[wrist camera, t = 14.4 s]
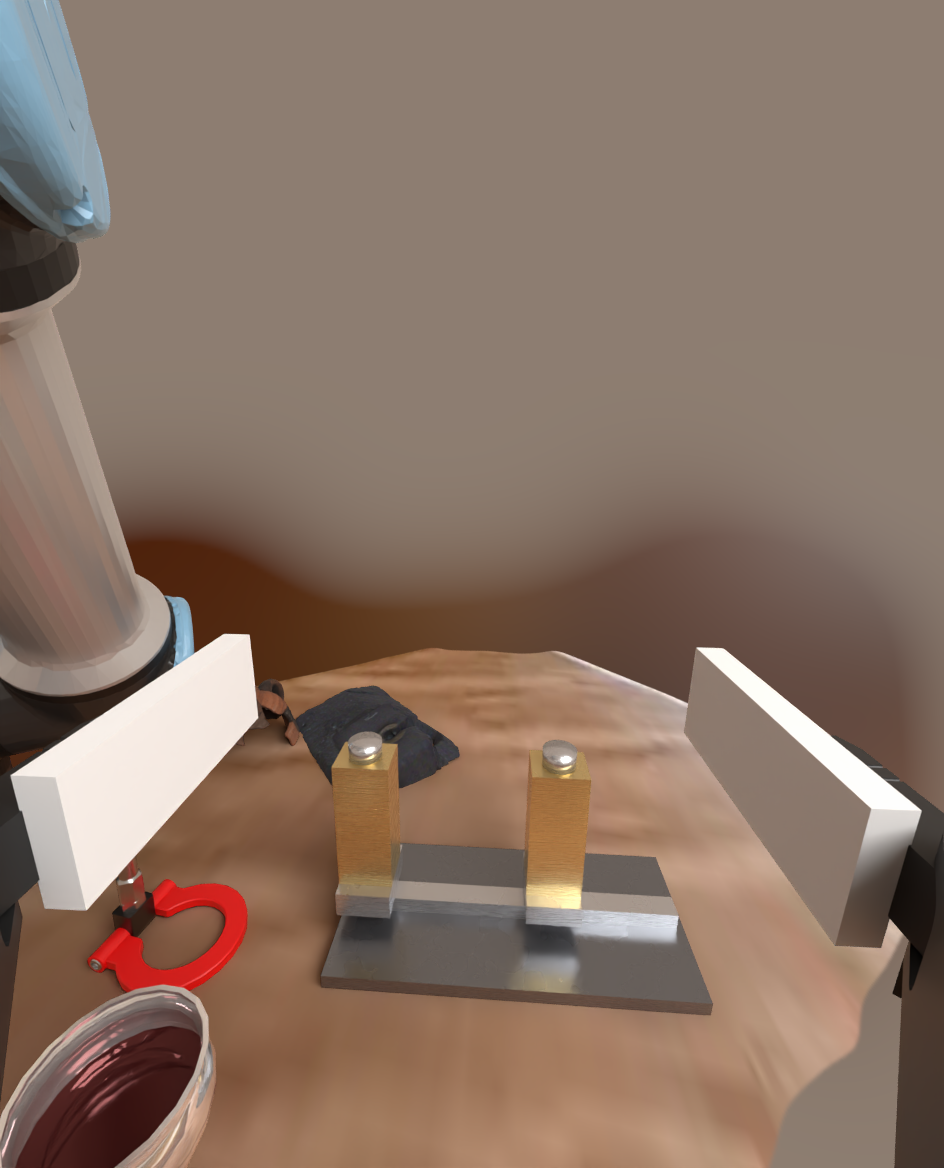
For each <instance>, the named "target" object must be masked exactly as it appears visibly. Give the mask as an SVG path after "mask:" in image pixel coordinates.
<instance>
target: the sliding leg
mask: <svg viewBox="0 0 944 1168" xmlns="http://www.w3.org/2000/svg"><path fill="white" fill-rule="evenodd" d="M590 790H591V777H590V774H589V770H588V767H587V763H586V760H585V756H584V752H577V749H576V747H575V746H574V745H572V744H571V743H569V742H566V741H562V740H551V741H548V742H546V743H545V744H544V745H543V751H539V750H530V751H529V771H528V792H527V812H526V832H525V852H524V854H523V880H524V898H525V916H526V924H537V925H552V926H568V927H582V916H583V906H582V901H581V893H582V882H583V870H584V859H585V847H586V836H587V824H588V813H589V801H590Z"/></svg>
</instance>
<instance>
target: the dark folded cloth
mask: <svg viewBox="0 0 944 1168" xmlns="http://www.w3.org/2000/svg"><path fill="white" fill-rule="evenodd" d="M295 721H296V723H297V726H298V727H299V731H300V732H301V733H302V734H303V738H304V740H305V742H306V743H307V746H308V748H309V750H310V752H311V753H312V756H313V757H314V758H315V759H316V760H317V763H318V764H319V766H320V768H321V769H322V771H323V772H324V774H325V776H326V777H327V778H328V780H329V782H330V784H331V785H332V787H333V784H332V769H331V767H332V765H333V764H334V762H335V760H336V758H337V756H338V755H339V753H340V751H341V749H342V747H343V746H344V744H345V742H348V741H349V739H350V738H351V737H352V736H353V735H355V734H358V733H361V732H375V733H377V734H379V735H380V736H381V737H382V743H384V744H397V747H398V783H399V788H403V787H405V786H408V785H410V784H413V783H415V782H417V781H419V780H422V779H424V778H426V777H429V776H431V775H433V774H434V773H435V772H436V770H439V769H441V767H443V766H444V765H447V764H448V761H451V760H453V759H455V758H457V757H459V750H458V747H457V746H455V745H454V743H453V742H452V741H451V740H449V739H448V738H446V737H445V736H444V735H443V734H441V733H439V732H438V731H436V730H435V729H433V728H432V727H430V726H428V725H427V724H425V723H424V722H421V721H420V720H418V718H417V715H415V714H414V713H412V711H410V710H409V709H408V708H406V707H404V706H403V705H401V704H400V702H398V701H396V700H394V699H393V698H392V697H390V696H389V695H388V694H387V693H386V692H385V691H384V690H382V689H380V688H379V687H377V686H368V687H361V688H351V689H347V690H345V691H342V692H341V693H339V694H337V695H335V696H333V697H332V698H329V699H328V700H326V701H325V702H324V703H322V704H320V705H318V706H316V707H314V708H311V709H309V710H307V711H306V712H305V713H304V714H301V715H300V716H299V717H298V718H297V719H296V720H295ZM433 744H434V746H433Z"/></svg>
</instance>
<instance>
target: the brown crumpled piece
mask: <svg viewBox="0 0 944 1168" xmlns="http://www.w3.org/2000/svg"><path fill="white" fill-rule="evenodd" d="M255 692H256V701H257V711H258V719H257V720H256V721H255V722H254V723H253V724H252V725H251V727H250V728H249V729H263V728H266V727H267V726H269V724H270V723H269V722H268V721H267V720H266V719H277V718H279V717H280V716H281V715H282V717H283V719H284V722H285V725H286V726H288V728H287V730H286V732H285V737H286V738H288V739H289V742H290V744H291V745H292V746H294V745H295V743H296V742H297V740H298V737H299V732H300V731H299V727H298V726H297V723H296V721H295V719H294V718H293V716H292V714H291V711H290V710H289V707H288V706H287V705H286V702H285V701H284V691H283V687H282V685H281V684H280V683H279V682H278V681H277V680H274V679H268V680H266V681H264V682H262V683H261V684H260V685H259V687H256V686H255ZM265 718H266V719H265ZM243 737H244V734H243V736H242V737H241V738H240V739H239V740H238V741H237V742H236V743H235V744H237V745H241V746H244V745H245V743H244V738H243Z"/></svg>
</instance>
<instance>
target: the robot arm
mask: <svg viewBox="0 0 944 1168" xmlns="http://www.w3.org/2000/svg"><path fill="white" fill-rule="evenodd" d="M109 225H110V205H109V198H108V189H107V183H106V178H105V173H104V168H103V163H102V158H101V154H100V151H99V148H98V145H97V142H96V137H95V133H94V130H93V126H92V123H91V119H90V116H89V113H88V103H87V97H86V94H85V90H84V86H83V82H82V78H81V75H80V71H79V68H78V64H77V61H76V57H75V54H74V50H73V47H72V44H71V40H70V37H69V33H68V30H67V27H66V23H65V20H64V17H63V13H62V10H61V7H60V4H59V1H58V0H0V1100H1V1092H2V1084H3V1075H4V1067H5V1058H6V1050H7V1042H8V1033H9V1025H10V1016H11V1008H12V1000H13V991H14V983H15V974H16V966H17V958H18V949H19V941H20V932H21V924H22V913H21V910H20V906H19V903H18V899H20V898H21V897H22V896H23V895H24V894H25V893H26V892H27V891H28V890H29V889H30V888H31V887H32V886H33V885H34V884H36V883H37V882H38V884H39V888H40V892H41V895H42V899H43V903H44V907H45V909H65V910H87V909H88V908H89V907H90V906H91V905H92V904H93V903H94V901H95V900H96V899H97V898H98V897H99V896H100V895H101V894H102V892H103V891H104V890H105V889H106V888H107V887H108V886H109V885H110V883H111V882H112V881H113V880H114V879H115V878H116V877H117V876H118V875H119V873H120V872H121V871H122V870H123V869H124V868H125V867H126V866H127V864H128V863H129V862H130V861H131V860H132V859H133V858H134V857H135V855H136V854H137V853H138V852H139V851H140V850H141V849H142V848H143V846H144V845H145V844H146V843H147V842H148V841H149V840H150V839H151V838H152V836H153V835H154V834H155V833H156V832H157V831H158V830H159V829H160V827H161V826H162V825H163V824H164V823H165V822H166V821H167V820H168V818H169V817H170V816H171V815H172V814H173V813H174V812H175V811H176V810H177V808H178V807H179V806H180V805H181V804H182V803H183V802H184V801H185V799H186V798H187V797H188V796H189V795H190V794H191V793H192V792H193V790H194V789H195V788H196V787H197V786H198V785H199V784H200V783H201V781H202V780H203V779H204V778H205V777H206V776H207V775H208V774H209V773H210V771H211V770H212V769H213V768H214V767H215V766H216V765H217V764H218V762H219V761H220V760H221V759H222V758H223V757H224V756H225V755H226V753H227V752H228V751H229V750H230V749H231V748H232V747H233V746H234V744H235V743H236V742H237V741H238V740H239V739H240V738H241V737H242V736H243V734H244V733H245V732H246V731H247V730H248V729H249V728H250V727H251V725H252V724H253V723H254V722H255V721H256V720H257V719H258V711H257V701H256V692H255V682H254V673H253V664H252V655H251V645H250V636H249V635H240V634H224V635H222V636H221V637H219V638H217V639H216V640H214V641H213V642H211V643H210V644H208V645H207V646H205V647H204V648H202V649H201V650H199V651H198V652H196V653H195V654H194V643H193V629H192V619H191V612H190V607H189V605H188V603H187V601H186V600H185V599H183V598H180V597H171V596H163V594H162V593H161V592H160V591H159V589H158V588H156V587H155V586H154V585H153V584H152V583H150V582H149V581H148V580H146V579H145V578H143V577H141V576H139V575H137V574H135V571H134V568H133V565H132V562H131V558H130V555H129V552H128V549H127V546H126V543H125V539H124V537H123V533H122V530H121V527H120V524H119V521H118V517H117V515H116V511H115V508H114V505H113V502H112V499H111V495H110V493H109V489H108V486H107V483H106V480H105V477H104V473H103V470H102V467H101V464H100V461H99V458H98V455H97V451H96V449H95V445H94V442H93V439H92V436H91V433H90V429H89V426H88V423H87V420H86V417H85V414H84V411H83V408H82V405H81V401H80V398H79V395H78V392H77V389H76V385H75V382H74V379H73V376H72V373H71V370H70V367H69V363H68V360H67V357H66V354H65V351H64V348H63V345H62V341H61V338H60V336H59V333H58V329H57V326H56V323H55V320H54V317H53V313H52V310H51V308H52V307H53V306H55V305H56V304H57V303H58V302H59V301H60V300H62V299H63V298H64V297H65V296H66V295H68V294H69V293H70V292H71V291H72V290H73V288H74V287H75V286H76V284H77V283H78V280H79V277H80V274H81V262H80V258H79V254H78V250H77V246H76V243H79V242H84V241H86V240H87V239H88V238H93V239H94V238H98V237H101V236H103V235H104V234H106V233H107V231H108V228H109ZM684 733H685V734H686V736H687V737H688V739H689V740H690V742H691V743H692V744H693V746H694V747H695V749H696V750H697V751H698V753H699V754H700V756H701V757H702V758H703V760H704V761H705V763H706V764H707V766H708V767H709V768H710V770H711V771H712V773H713V774H714V775H715V777H716V778H717V780H718V781H719V783H720V784H721V785H722V787H723V788H724V790H725V791H726V792H727V794H728V795H729V797H730V798H731V799H732V801H733V802H734V804H735V805H736V807H737V808H738V809H739V811H740V812H741V814H742V815H743V816H744V818H745V819H746V821H747V822H748V824H749V825H750V826H751V828H752V829H753V831H754V832H755V833H756V835H757V836H758V838H759V839H760V840H761V842H762V843H763V845H764V846H765V848H766V849H767V850H768V852H769V853H770V855H771V856H772V857H773V859H774V860H775V862H776V863H777V865H778V866H779V867H780V869H781V870H782V872H783V873H784V874H785V876H786V877H787V879H788V880H789V881H790V883H791V884H792V886H793V887H794V889H795V890H796V891H797V893H798V894H799V896H800V897H801V898H802V900H803V901H804V903H805V904H806V905H807V907H808V908H809V910H810V911H811V913H812V914H813V915H814V917H815V918H816V920H817V921H818V922H819V924H820V925H821V927H822V928H823V930H824V931H825V932H826V934H827V935H828V937H829V938H830V939H831V941H832V942H833V944H834V945H835V946H850V947H872V948H881V946H882V943H883V939H884V936H885V933H886V929H887V926H888V922H889V919H891V920H892V921H893V923H894V924H895V925H896V926H897V927H898V928H899V930H900V931H901V932H902V933H903V934H904V935H905V936H906V938H907V939H908V940H909V942H908V945H907V949H906V952H905V955H904V958H903V961H902V965H901V968H900V971H899V974H898V977H897V980H896V984H895V987H894V990H893V994H894V995H896V996H898V997H900V998H902V1004H901V1005H902V1006H901V1028H900V1030H901V1031H900V1051H899V1074H898V1097H897V1098H898V1099H897V1122H896V1144H895V1167H894V1168H944V813H943V812H941V811H940V810H938V808H936V807H935V806H934V805H932V804H931V803H930V802H929V801H927V800H926V799H925V798H924V797H922V796H921V795H920V794H918V793H917V792H916V791H915V790H913V789H912V788H911V787H909V786H908V785H907V784H906V783H904V782H900V781H899V778H898V777H897V776H895V775H894V774H893V773H892V772H890V771H889V770H888V769H886V768H882V765H881V764H880V763H879V762H878V761H876V760H875V759H874V758H872V757H871V756H870V755H869V754H867V753H866V752H865V751H863V750H862V749H860V748H858V747H856V746H855V745H853V744H851V743H849V742H847V741H845V740H843V739H841V738H839V737H837V736H830V735H828V734H827V733H826V732H825V731H824V730H822V729H821V728H820V727H819V726H817V725H816V724H815V723H814V722H812V721H811V720H810V719H809V718H808V717H806V716H805V715H804V714H803V713H801V712H800V711H799V710H798V709H797V708H795V707H794V706H793V705H792V704H791V703H789V702H788V701H787V700H786V699H784V698H783V697H782V696H781V695H779V694H778V693H777V692H776V691H775V690H773V689H772V688H771V687H770V686H768V685H767V684H766V683H765V682H764V681H762V680H761V679H760V678H759V677H757V676H756V675H755V674H754V673H753V672H751V671H750V670H749V669H748V668H746V667H745V666H744V665H743V664H741V663H740V662H739V661H738V660H737V659H735V658H734V657H733V656H732V655H730V654H729V653H728V652H727V651H726V650H724V649H723V648H696V653H695V660H694V667H693V674H692V681H691V688H690V694H689V702H688V708H687V715H686V722H685V729H684ZM39 749H43V751H42V752H37V753H36V754H34V755H33V756H31V757H29V758H28V759H26V760H25V761H23V762H22V763H20V764H19V765H17V766H16V767H14V768H13V767H12V764H11V761H10V757H9V756H10V755H16V754H19V753H24V752H29V751H33V750H39Z"/></svg>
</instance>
